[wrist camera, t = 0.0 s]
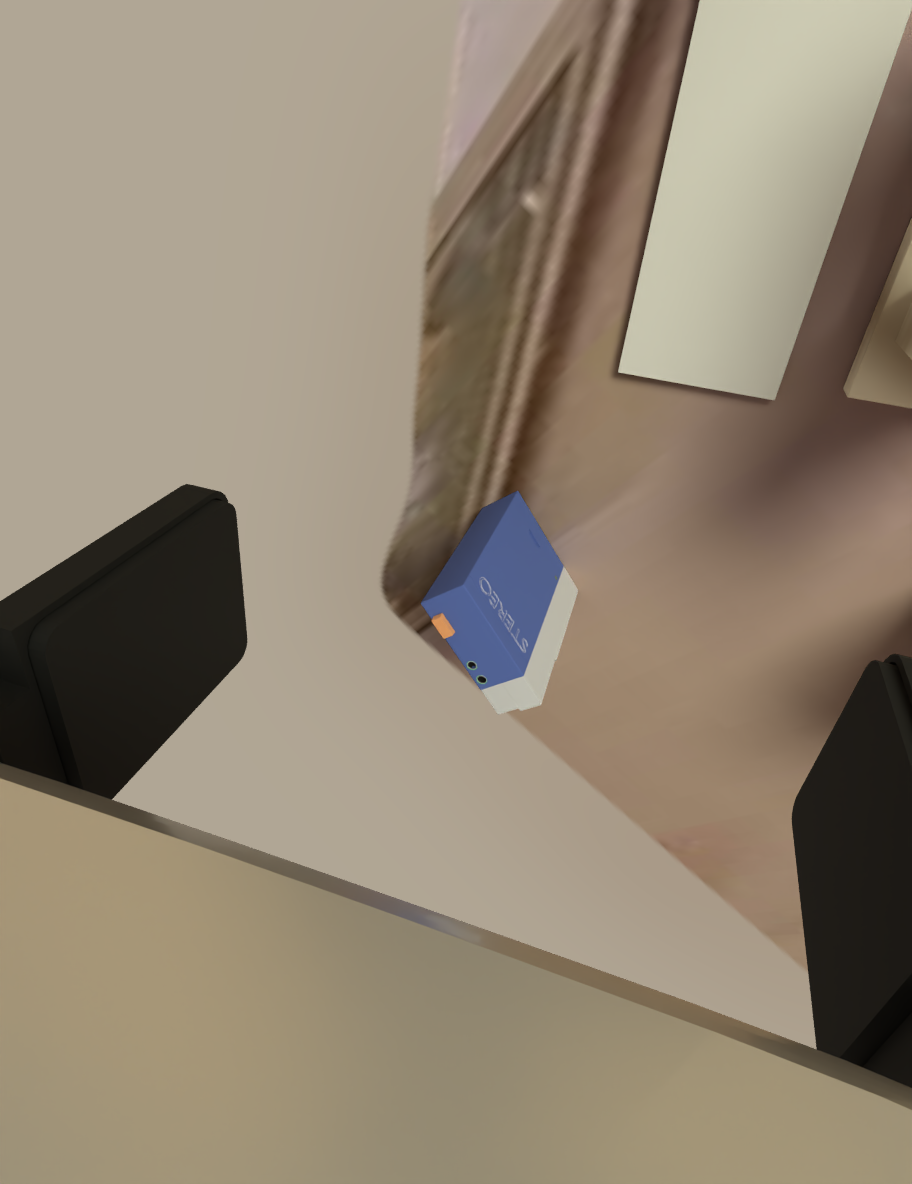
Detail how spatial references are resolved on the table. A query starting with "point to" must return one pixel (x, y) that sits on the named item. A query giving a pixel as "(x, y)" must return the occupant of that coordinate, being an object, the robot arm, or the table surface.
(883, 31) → the mat
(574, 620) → the table surface
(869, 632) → the table surface
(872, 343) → the rack
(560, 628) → the walkman
